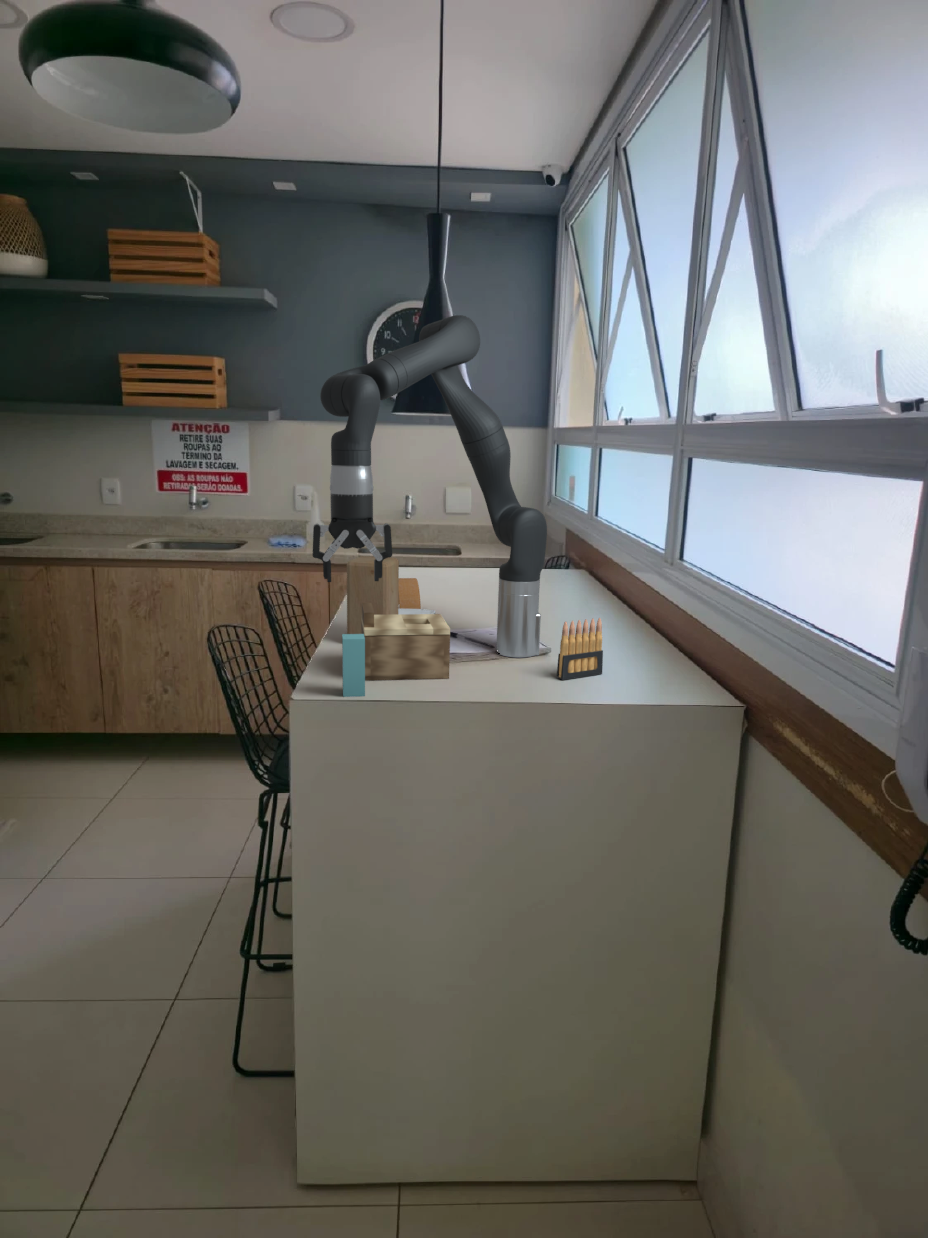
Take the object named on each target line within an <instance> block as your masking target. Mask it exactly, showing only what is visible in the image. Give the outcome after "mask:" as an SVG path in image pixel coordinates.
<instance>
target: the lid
mask: <svg viewBox="0 0 928 1238" xmlns="http://www.w3.org/2000/svg"><path fill="white" fill-rule="evenodd" d="M361 621H362V626H363V631H364V636H378V635H445V634H450V635H451V627H450V626H449V625H448V623H447V622H446V620H445V618H444V617H443V615H442V614H441V613H435V614H393V615H374V610H373V607H372V603H362V615H361Z"/></svg>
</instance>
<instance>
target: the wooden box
mask: <svg viewBox="0 0 928 1238" xmlns="http://www.w3.org/2000/svg"><path fill="white" fill-rule="evenodd" d="M361 634H364V631H363V626H362V621H361ZM364 637H365V682H367V681H369V682H370V681H371V682H372V681H373V682H374V681H403V680H404V681H407V680H409V681H410V680H443V679H444V680H445V679H446V680H447V679H448V680H449V679H450V657H451V656H450V655H451V654H450V651H451V633H450V634H445V635H378V636H364Z"/></svg>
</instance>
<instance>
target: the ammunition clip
mask: <svg viewBox="0 0 928 1238" xmlns="http://www.w3.org/2000/svg"><path fill="white" fill-rule="evenodd" d="M562 625H563V626H562V631H561V633H562V634H561V639H560V647H559V653H558V654H557V655H558V659H557V669H556V678H557V679H560V680H562V681H565V680H571V679H577V678H584V677H591V676H597V675H603V662H604V661H603V660H604V659H603V657H604V650H603V626H602V625H603V624H602V619H601V617H598V619H597V622H595V619H594V618H592V619H591V620H590V624H589V623H588V619H587V618H586V619H584V622H583V625H582V622H581V620H580V619H578V621H577V623H576V626H575V621H574V620H571V622H570V625H569V627H568V623H567V621H564V623H563V624H562Z"/></svg>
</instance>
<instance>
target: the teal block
mask: <svg viewBox="0 0 928 1238" xmlns="http://www.w3.org/2000/svg"><path fill="white" fill-rule="evenodd" d="M341 636H342V637H341V639H342V640H341V642H342V643H341V644H342V645H341V647H342V649H341V651H342V653H341V657H342V659H341V661H342V696H343V698H346V697H347V698H349V697H350V698H351V697H365V696H366V681H365V637H364V634H347V633H342V634H341Z"/></svg>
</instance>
